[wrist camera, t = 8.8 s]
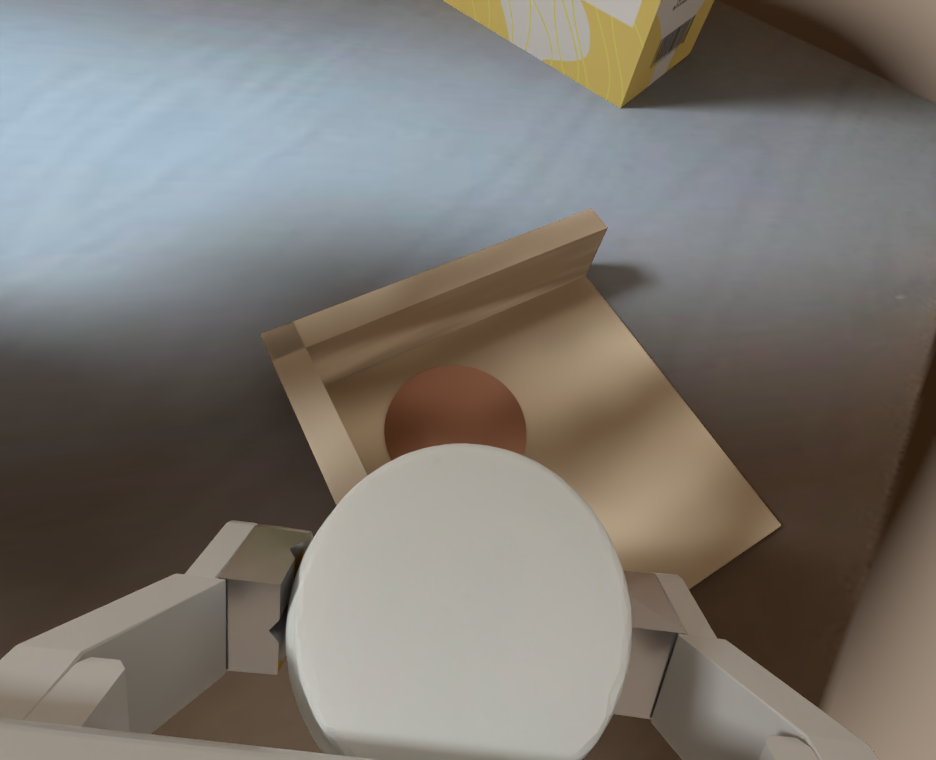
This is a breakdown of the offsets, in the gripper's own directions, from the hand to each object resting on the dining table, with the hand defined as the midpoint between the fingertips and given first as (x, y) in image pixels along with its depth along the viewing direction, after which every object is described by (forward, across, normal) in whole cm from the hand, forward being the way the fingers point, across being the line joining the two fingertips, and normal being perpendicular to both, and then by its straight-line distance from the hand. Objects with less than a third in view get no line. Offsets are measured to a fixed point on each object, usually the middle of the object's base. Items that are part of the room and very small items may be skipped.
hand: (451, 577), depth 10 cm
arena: (+15, -4, +4) cm, 16 cm away
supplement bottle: (+4, 0, +5) cm, 6 cm away
